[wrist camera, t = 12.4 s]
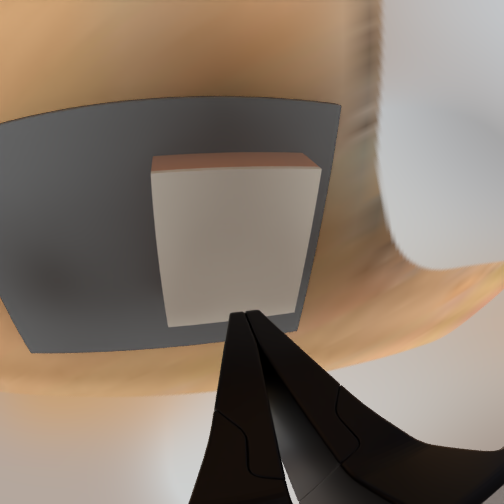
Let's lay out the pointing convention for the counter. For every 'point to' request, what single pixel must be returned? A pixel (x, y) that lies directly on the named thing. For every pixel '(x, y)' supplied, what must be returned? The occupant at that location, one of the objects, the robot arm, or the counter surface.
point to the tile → (232, 232)
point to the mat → (125, 212)
